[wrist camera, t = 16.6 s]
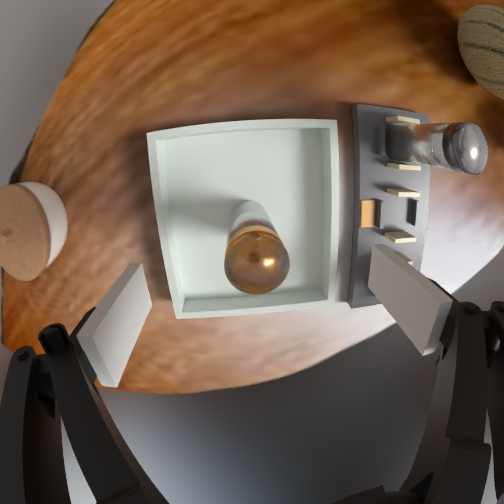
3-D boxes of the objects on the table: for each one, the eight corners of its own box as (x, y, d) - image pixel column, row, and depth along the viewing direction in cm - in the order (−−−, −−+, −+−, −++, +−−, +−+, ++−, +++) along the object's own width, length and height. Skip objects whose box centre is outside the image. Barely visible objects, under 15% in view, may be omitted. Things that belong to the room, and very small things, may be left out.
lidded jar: (70, 270, 30) (31, 305, 21) (18, 233, 28) (-24, 257, 19) (92, 196, 27) (45, 216, 18) (34, 162, 25) (-16, 172, 16)
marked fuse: (230, 239, 29) (227, 297, 18) (227, 201, 28) (220, 236, 16) (269, 236, 29) (289, 291, 18) (267, 198, 28) (289, 231, 16)
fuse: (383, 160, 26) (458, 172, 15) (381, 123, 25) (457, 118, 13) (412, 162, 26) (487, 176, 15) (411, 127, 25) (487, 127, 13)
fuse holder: (347, 302, 34) (358, 319, 30) (351, 105, 25) (367, 100, 21) (409, 292, 34) (423, 306, 30) (421, 115, 25) (441, 114, 22)
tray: (181, 302, 32) (176, 318, 29) (157, 134, 25) (146, 132, 22) (325, 290, 33) (333, 305, 30) (325, 123, 26) (336, 119, 23)
